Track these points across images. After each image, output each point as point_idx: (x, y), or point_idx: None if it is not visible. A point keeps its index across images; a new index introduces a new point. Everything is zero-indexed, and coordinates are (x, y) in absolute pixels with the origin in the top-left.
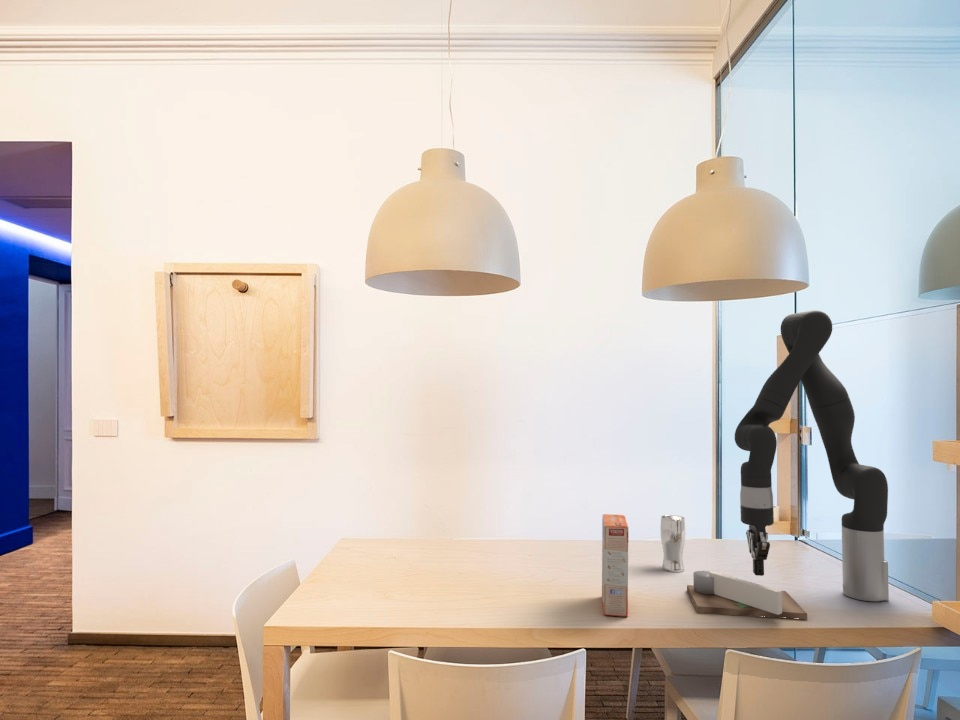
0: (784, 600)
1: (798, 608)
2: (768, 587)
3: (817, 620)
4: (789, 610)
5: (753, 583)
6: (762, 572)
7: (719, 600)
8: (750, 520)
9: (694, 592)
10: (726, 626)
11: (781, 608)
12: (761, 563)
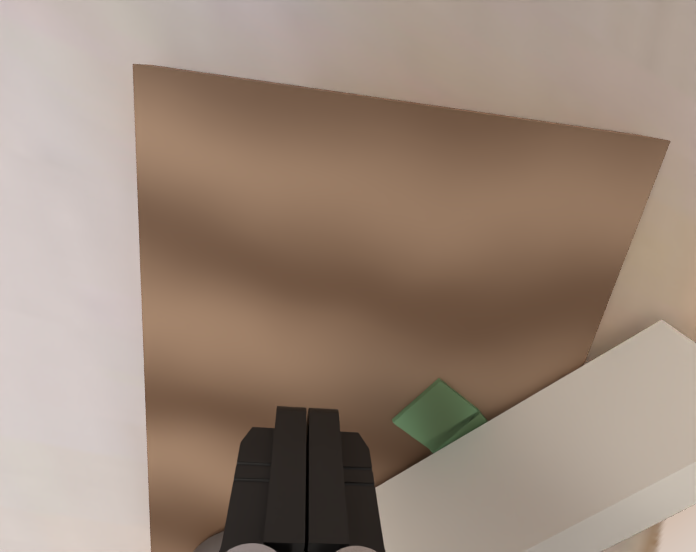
0: (398, 187)
1: (571, 158)
2: (684, 473)
3: (657, 60)
4: (596, 239)
5: (569, 538)
6: (366, 449)
7: None
8: None
9: None
10: (634, 535)
11: (686, 339)
12: (378, 543)
